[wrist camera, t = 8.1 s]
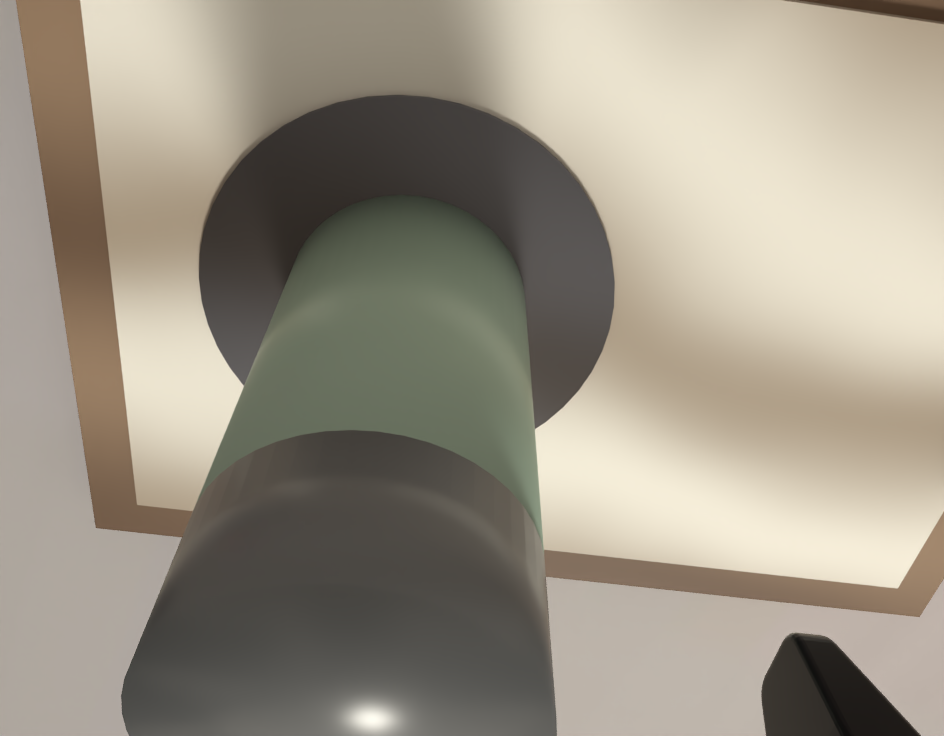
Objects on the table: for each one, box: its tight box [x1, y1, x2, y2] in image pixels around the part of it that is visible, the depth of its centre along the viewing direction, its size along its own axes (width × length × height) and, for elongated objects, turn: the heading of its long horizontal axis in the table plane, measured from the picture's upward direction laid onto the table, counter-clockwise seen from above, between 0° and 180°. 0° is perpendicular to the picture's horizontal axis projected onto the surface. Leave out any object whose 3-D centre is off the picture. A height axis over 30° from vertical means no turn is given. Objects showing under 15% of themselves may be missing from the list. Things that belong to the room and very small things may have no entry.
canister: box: [121, 195, 557, 736], centre depth 11 cm, size 4×4×8 cm
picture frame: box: [16, 0, 944, 617], centre depth 15 cm, size 13×18×2 cm
